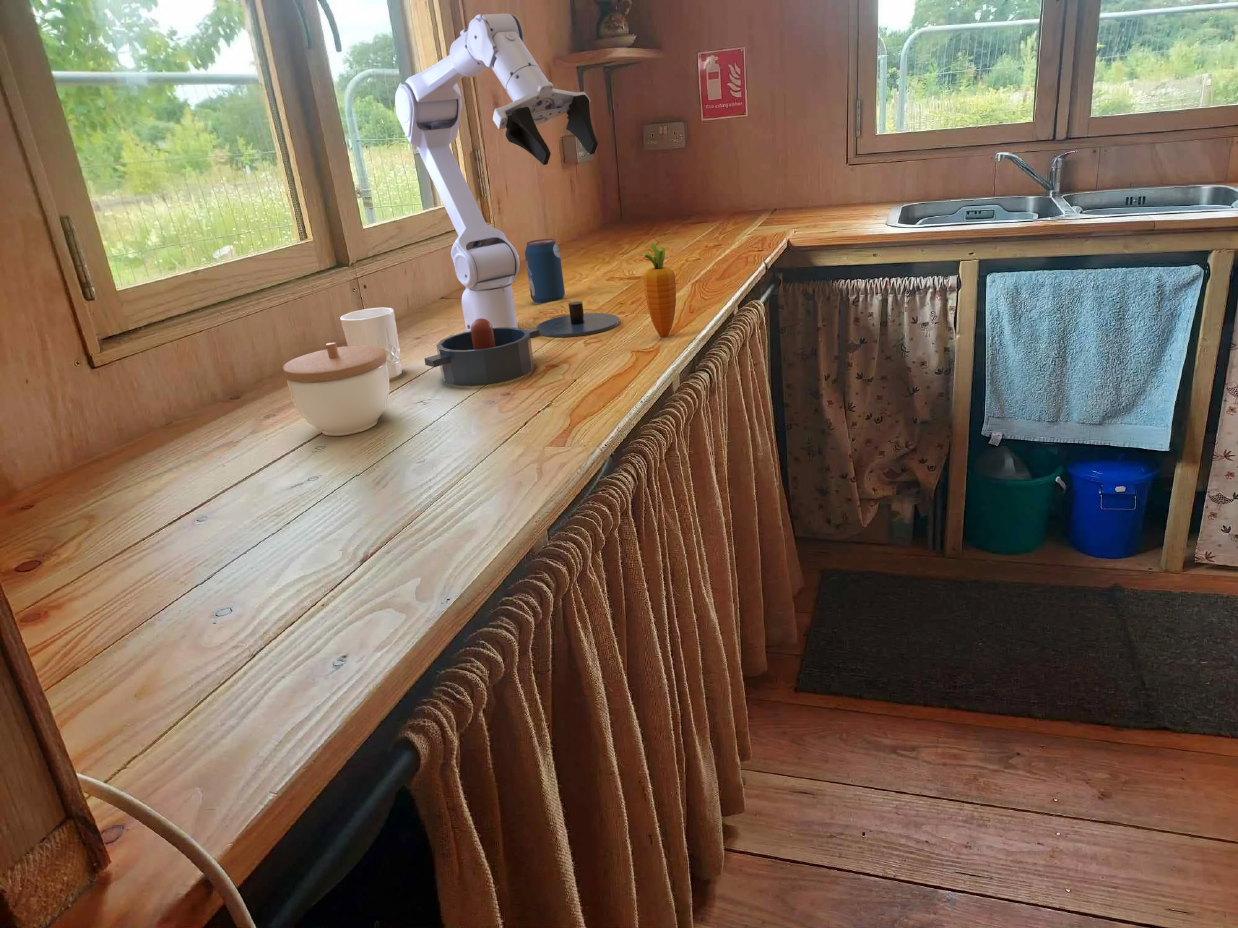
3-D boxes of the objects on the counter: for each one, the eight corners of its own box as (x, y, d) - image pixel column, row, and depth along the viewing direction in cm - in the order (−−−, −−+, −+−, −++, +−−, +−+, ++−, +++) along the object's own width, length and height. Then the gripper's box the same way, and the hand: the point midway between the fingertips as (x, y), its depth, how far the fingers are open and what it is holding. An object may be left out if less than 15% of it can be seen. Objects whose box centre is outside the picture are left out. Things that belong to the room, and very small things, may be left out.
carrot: (677, 343, 136) (670, 245, 130) (646, 344, 137) (637, 247, 131) (681, 335, 140) (675, 240, 135) (651, 336, 141) (643, 242, 136)
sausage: (473, 372, 130) (464, 320, 127) (491, 367, 132) (482, 315, 129) (485, 376, 127) (477, 322, 124) (503, 370, 129) (495, 317, 126)
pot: (410, 384, 129) (403, 348, 127) (513, 353, 140) (508, 319, 138) (460, 399, 119) (453, 361, 117) (566, 365, 131) (561, 329, 128)
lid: (520, 334, 152) (516, 308, 150) (583, 316, 160) (580, 291, 159) (572, 344, 141) (569, 316, 140) (637, 324, 150) (635, 297, 148)
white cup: (416, 370, 136) (404, 307, 132) (384, 386, 129) (370, 320, 126) (376, 369, 139) (363, 307, 135) (343, 384, 133) (328, 319, 129)
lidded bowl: (307, 452, 105) (285, 364, 101) (292, 425, 116) (272, 344, 112) (409, 427, 110) (392, 342, 106) (386, 403, 121) (369, 325, 117)
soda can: (572, 298, 177) (565, 238, 173) (552, 306, 172) (544, 244, 167) (545, 297, 181) (537, 238, 176) (524, 305, 176) (516, 244, 171)
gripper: (483, 66, 116) (531, 142, 113) (574, 52, 123) (622, 123, 120) (475, 107, 122) (520, 180, 119) (563, 91, 129) (608, 160, 126)
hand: (570, 154), depth 120 cm, fingers open, 7 cm apart
